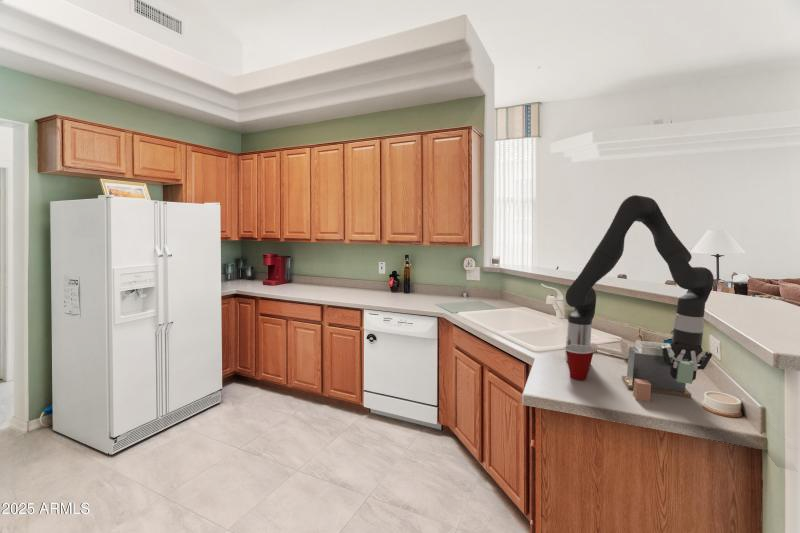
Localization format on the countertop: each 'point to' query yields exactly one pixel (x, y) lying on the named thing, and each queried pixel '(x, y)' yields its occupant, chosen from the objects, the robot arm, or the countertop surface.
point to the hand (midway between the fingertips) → (682, 378)
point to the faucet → (613, 351)
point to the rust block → (642, 390)
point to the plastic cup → (579, 360)
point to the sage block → (685, 372)
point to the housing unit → (653, 369)
